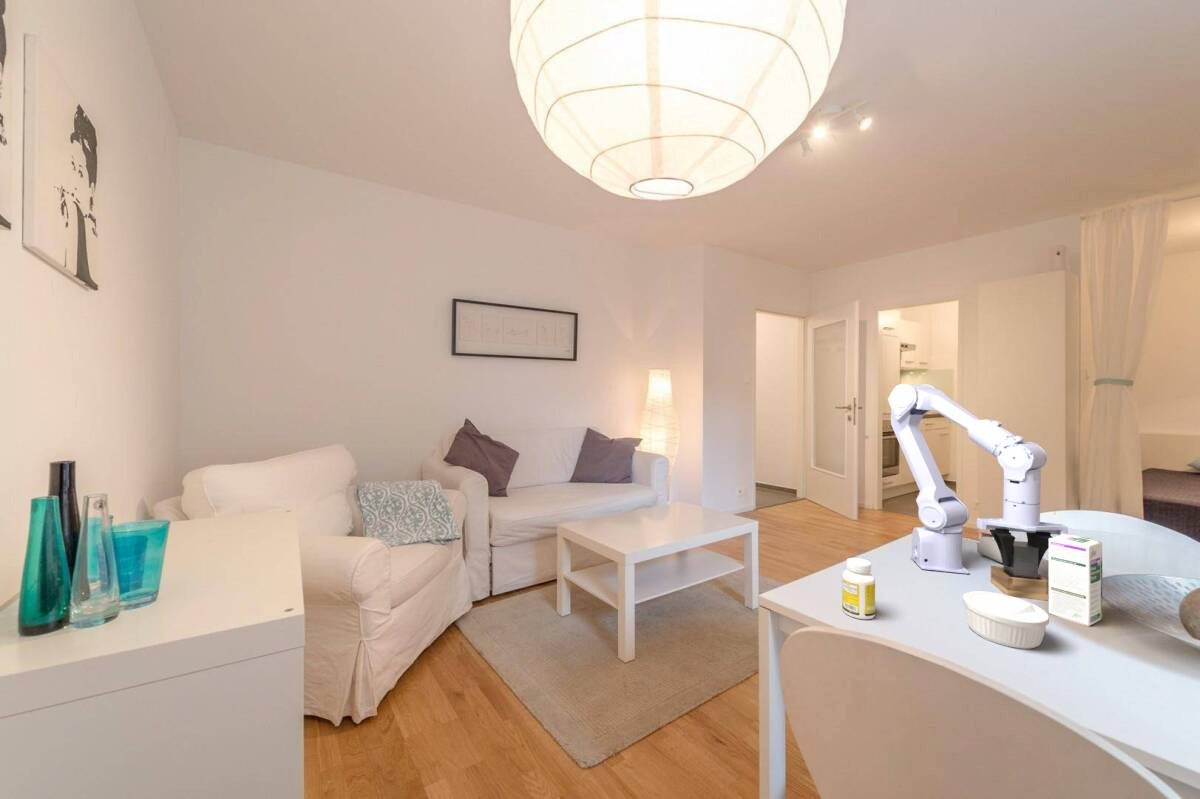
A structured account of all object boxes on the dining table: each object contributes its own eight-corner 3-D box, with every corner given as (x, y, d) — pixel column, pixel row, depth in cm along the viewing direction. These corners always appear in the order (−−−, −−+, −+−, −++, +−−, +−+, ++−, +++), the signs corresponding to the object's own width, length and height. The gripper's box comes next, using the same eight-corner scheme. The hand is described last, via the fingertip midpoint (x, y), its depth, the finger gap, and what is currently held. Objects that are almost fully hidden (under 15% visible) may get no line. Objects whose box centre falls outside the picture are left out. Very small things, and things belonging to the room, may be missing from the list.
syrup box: (1090, 627, 83) (1092, 546, 83) (1046, 613, 88) (1048, 536, 88) (1102, 620, 86) (1104, 541, 85) (1059, 606, 91) (1061, 532, 91)
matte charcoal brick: (1013, 584, 96) (1014, 546, 96) (1003, 577, 100) (1004, 540, 100) (1037, 587, 95) (1038, 548, 95) (1026, 579, 99) (1027, 541, 99)
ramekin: (1057, 661, 73) (1058, 628, 73) (966, 640, 79) (967, 609, 79) (1038, 629, 82) (1039, 600, 82) (958, 613, 88) (959, 585, 88)
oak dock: (1007, 596, 96) (1007, 577, 96) (990, 582, 102) (990, 565, 102) (1051, 600, 94) (1051, 582, 93) (1030, 586, 100) (1031, 569, 100)
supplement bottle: (871, 609, 90) (872, 558, 90) (878, 622, 85) (878, 568, 85) (840, 604, 92) (840, 555, 92) (844, 617, 87) (845, 565, 86)
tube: (1106, 581, 94) (1000, 540, 119) (1081, 573, 94) (980, 533, 119) (1097, 606, 94) (993, 559, 119) (1071, 598, 94) (973, 553, 119)
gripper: (988, 503, 96) (987, 569, 96) (1078, 508, 91) (1076, 577, 92) (972, 495, 103) (971, 557, 103) (1055, 500, 98) (1054, 565, 99)
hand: (1019, 566), depth 98 cm, fingers closed on matte charcoal brick, 4 cm apart
